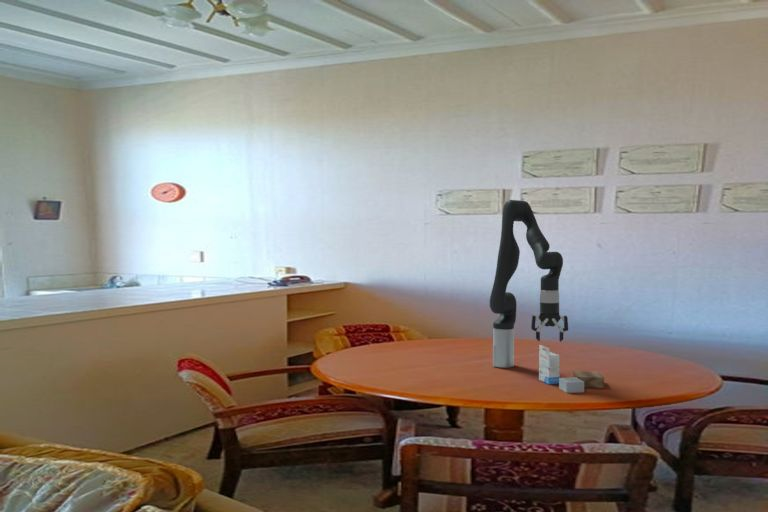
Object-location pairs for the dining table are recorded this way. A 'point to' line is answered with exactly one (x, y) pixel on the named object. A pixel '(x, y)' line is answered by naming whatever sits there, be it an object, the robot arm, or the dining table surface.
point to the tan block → (590, 378)
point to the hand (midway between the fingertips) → (549, 341)
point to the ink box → (548, 366)
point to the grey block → (571, 385)
